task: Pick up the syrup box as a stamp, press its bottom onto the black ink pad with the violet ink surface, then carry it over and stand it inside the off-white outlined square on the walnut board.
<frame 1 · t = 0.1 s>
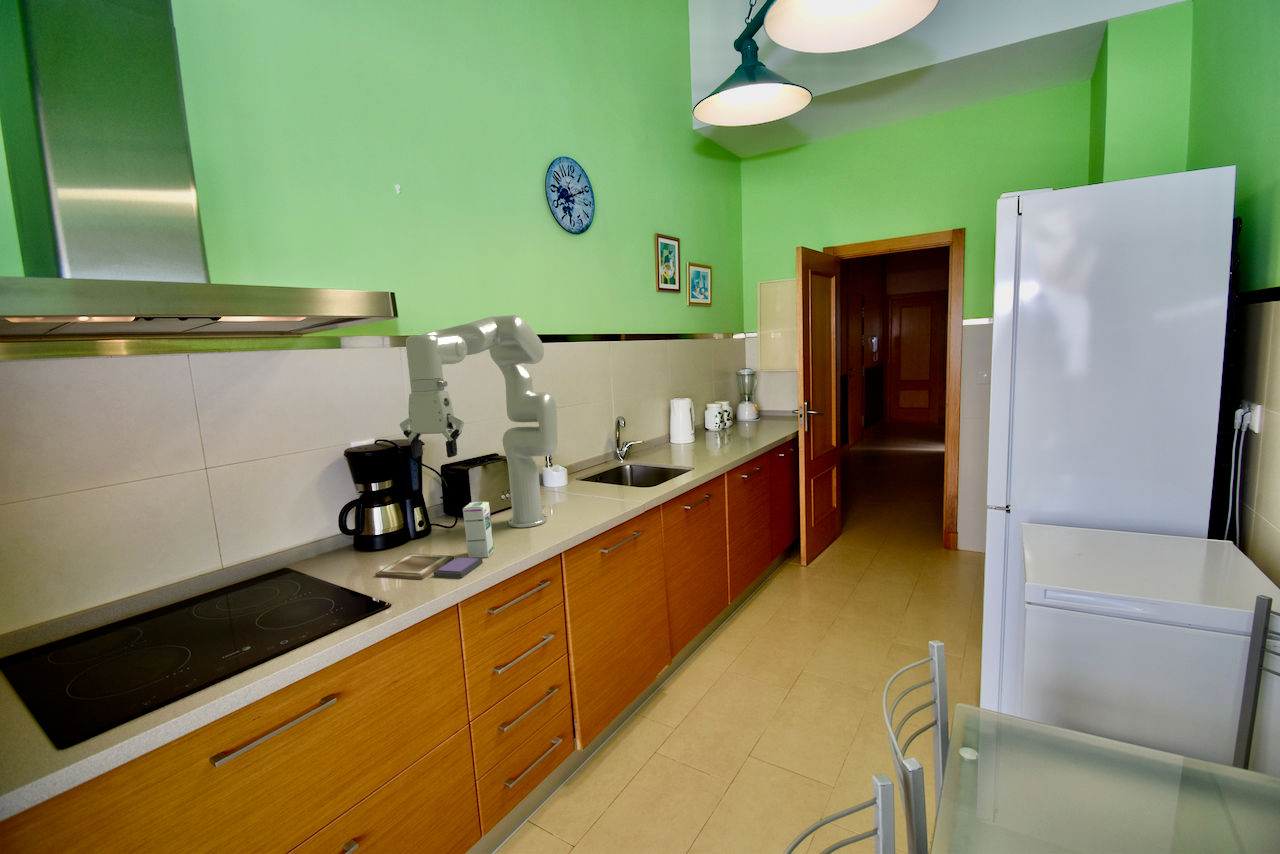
hand: (434, 456, 137), 31 cm above the countertop, fingers open, 9 cm apart
board: (416, 567, 149), on the countertop
ink pad: (458, 569, 146), on the countertop
syrup box: (481, 555, 156), on the countertop
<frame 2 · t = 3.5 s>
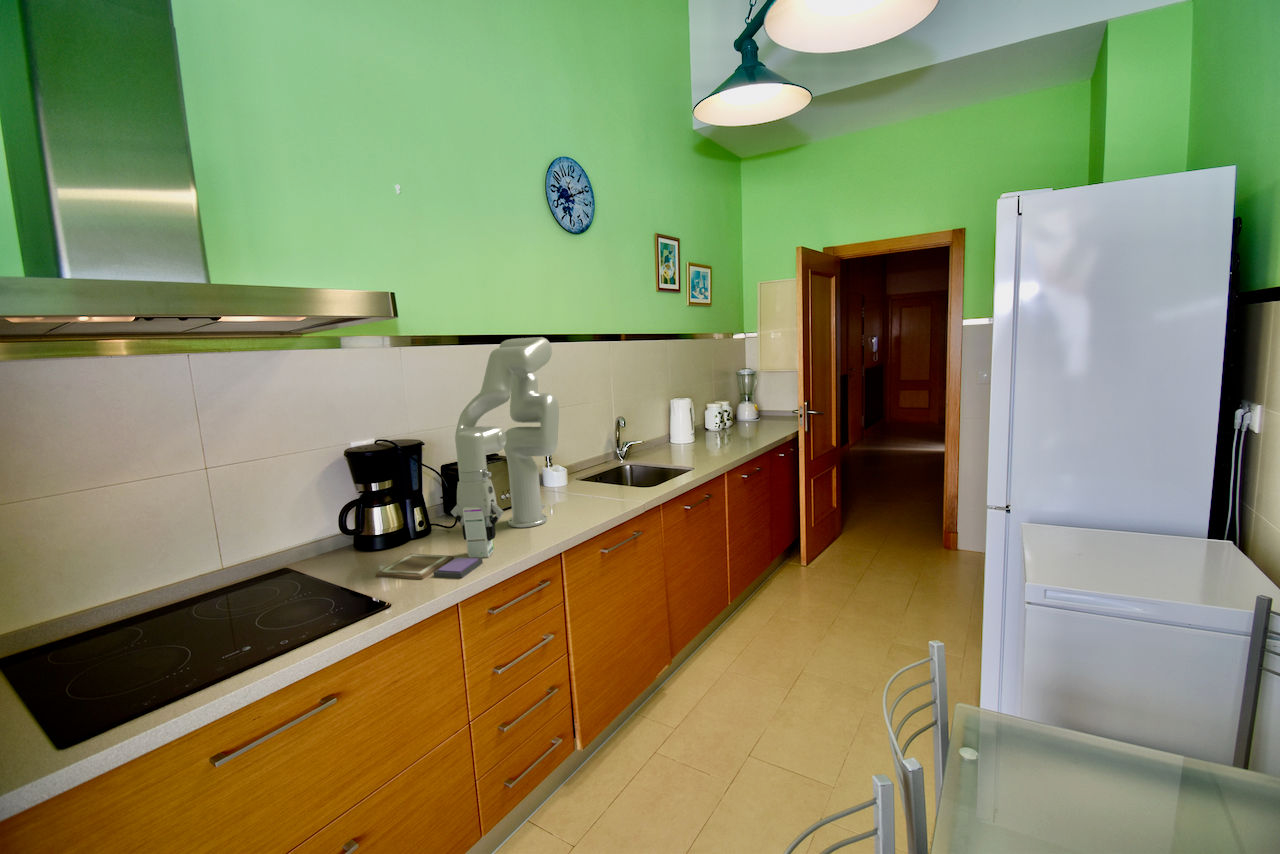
hand: (479, 538, 155), 5 cm above the countertop, fingers closed on syrup box, 6 cm apart
syrup box: (481, 555, 156), on the countertop, touching gripper
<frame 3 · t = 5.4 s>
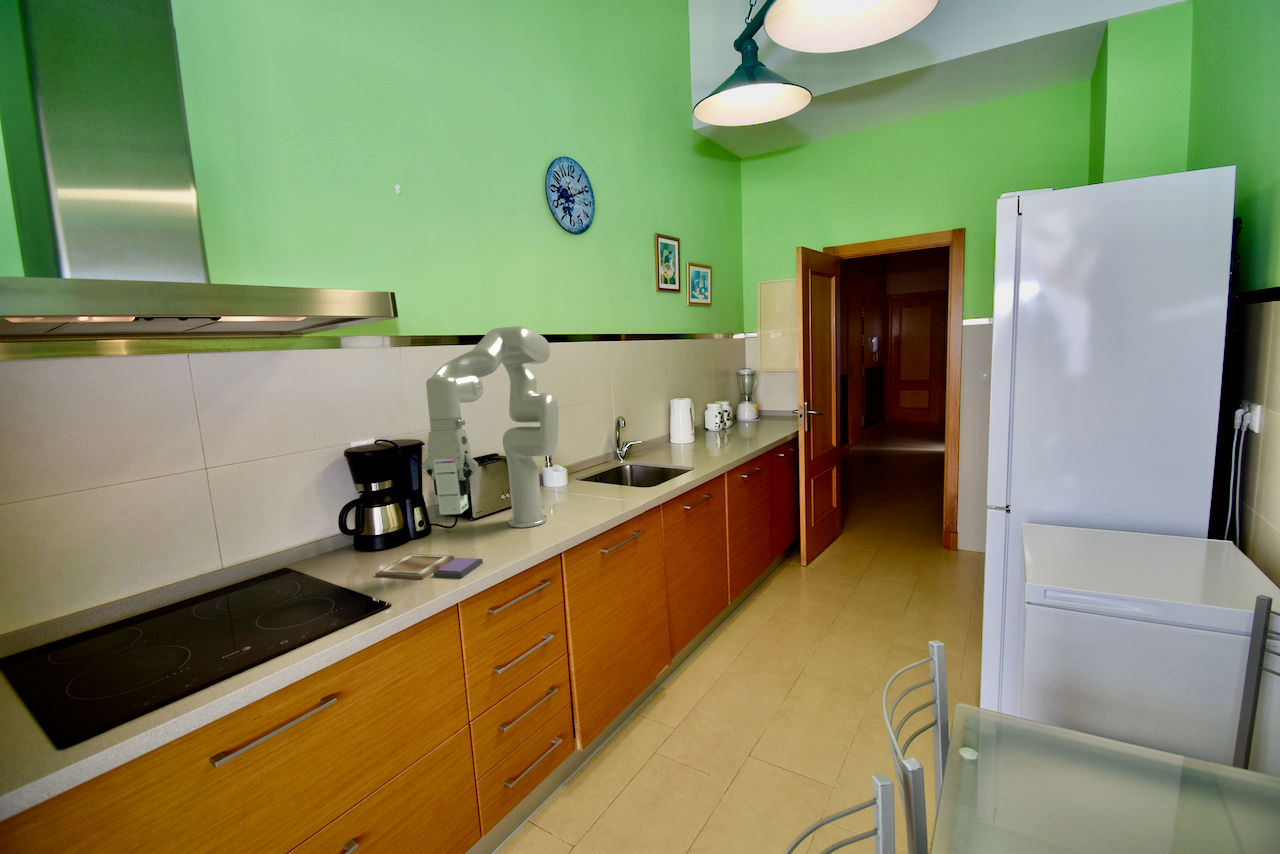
hand: (452, 493, 144), 20 cm above the countertop, fingers closed on syrup box, 6 cm apart
syrup box: (454, 512, 144), point 15 cm above the countertop, touching gripper
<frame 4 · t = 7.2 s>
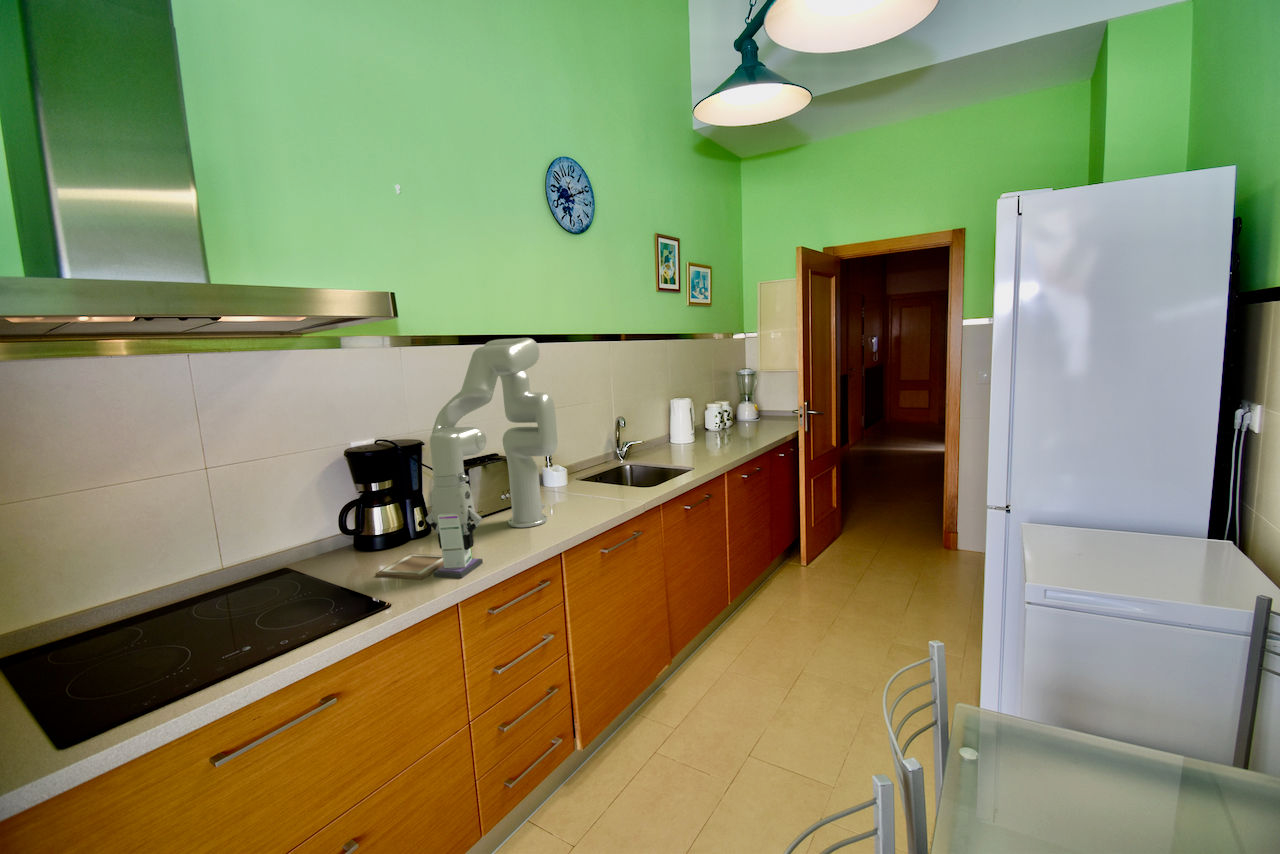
hand: (456, 546, 145), 6 cm above the countertop, fingers closed on syrup box, 6 cm apart
syrup box: (458, 564, 146), point 1 cm above the countertop, touching gripper, ink pad
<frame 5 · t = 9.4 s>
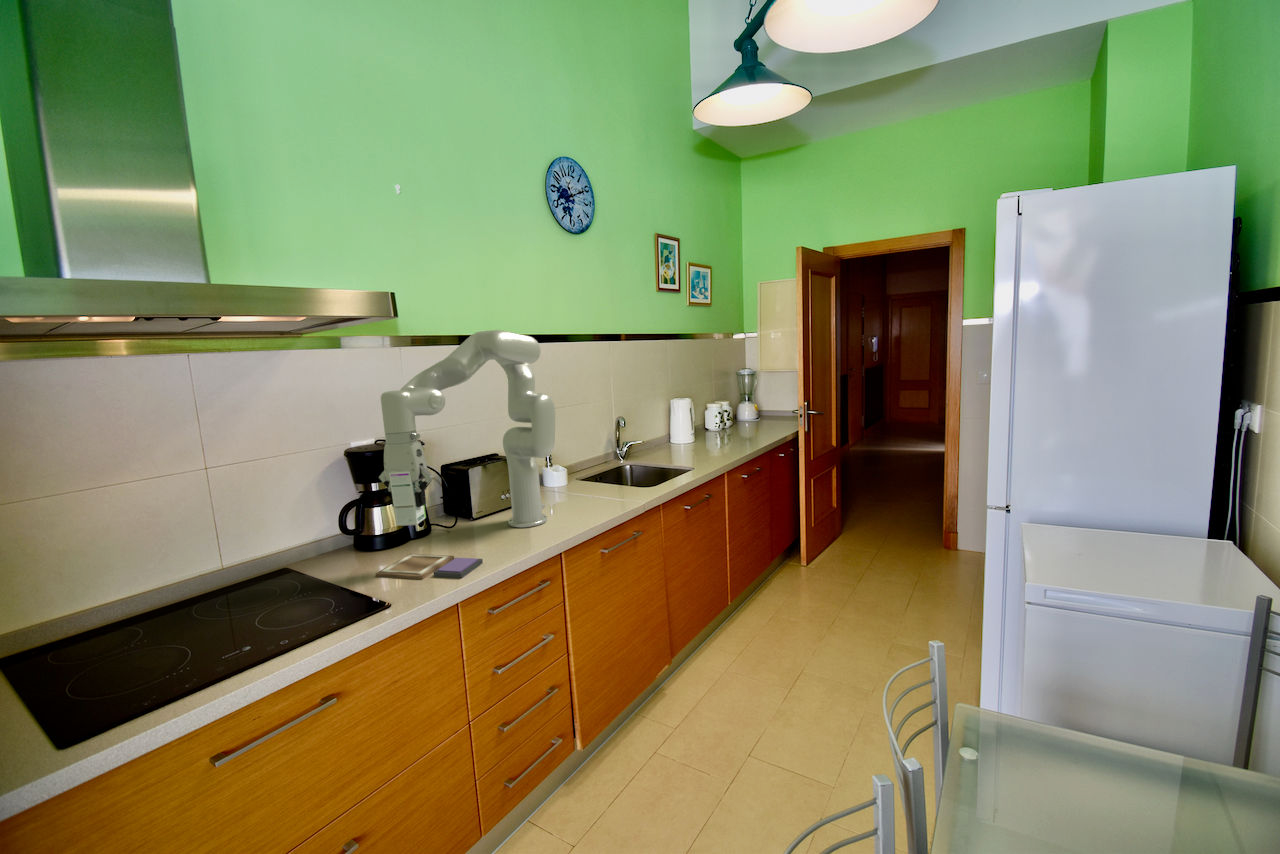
hand: (409, 504, 147), 17 cm above the countertop, fingers closed on syrup box, 6 cm apart
syrup box: (411, 522, 147), point 12 cm above the countertop, touching gripper
when the fingers open (6 cm above the countertop, at t = 11.4 s): syrup box stays where it is, resting on board.
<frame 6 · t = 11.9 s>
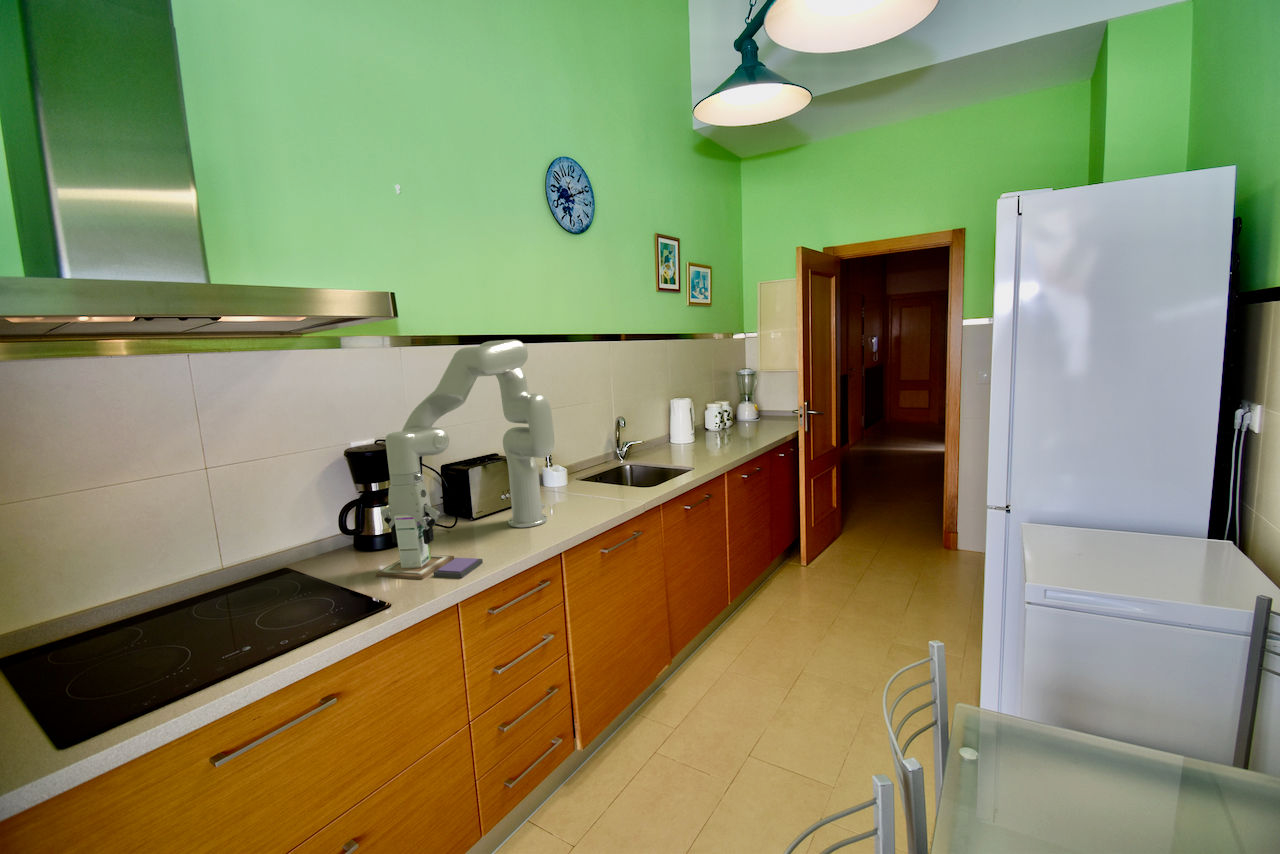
hand: (413, 541, 148), 7 cm above the countertop, fingers open, 9 cm apart
syrup box: (416, 564, 149), point 1 cm above the countertop, touching board
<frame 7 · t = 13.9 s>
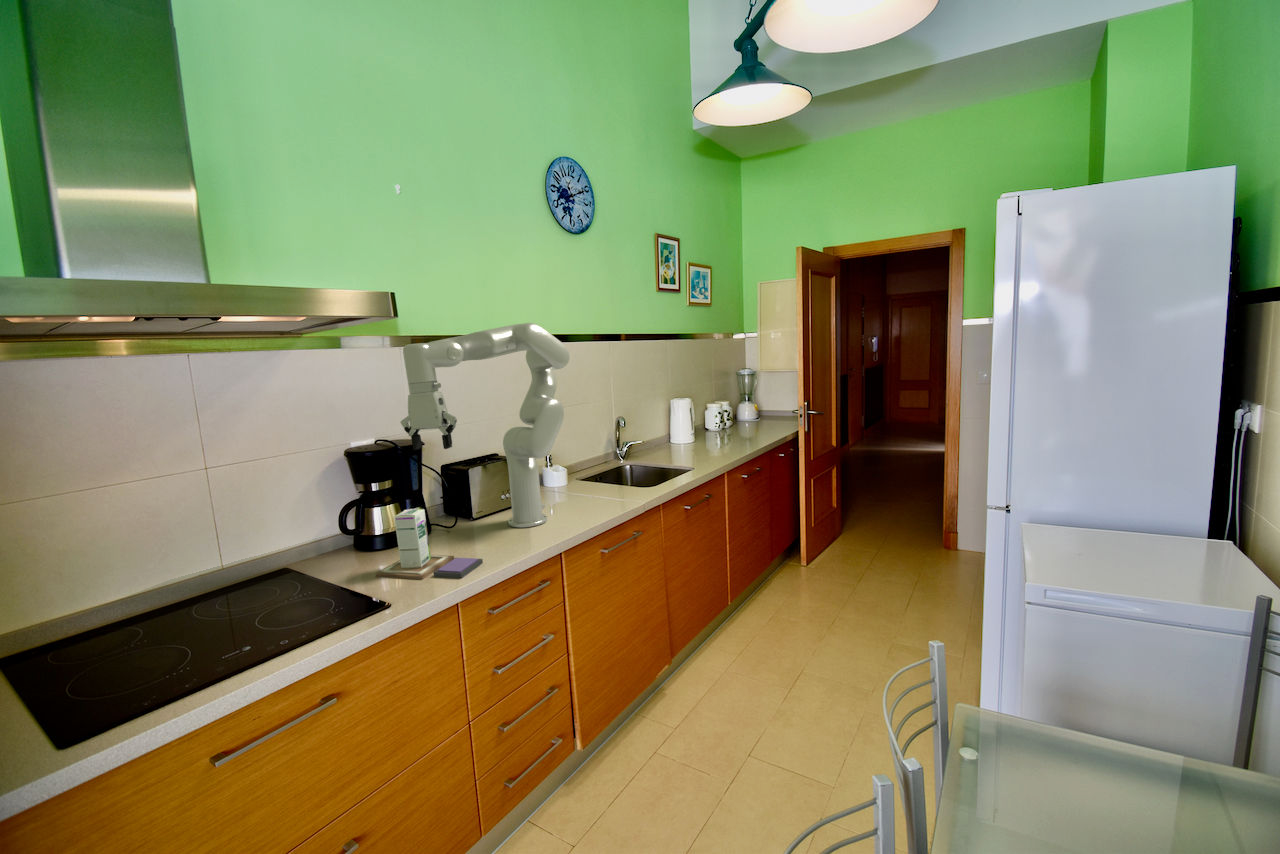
hand: (432, 448, 157), 30 cm above the countertop, fingers open, 9 cm apart
nothing on the countertop moved.
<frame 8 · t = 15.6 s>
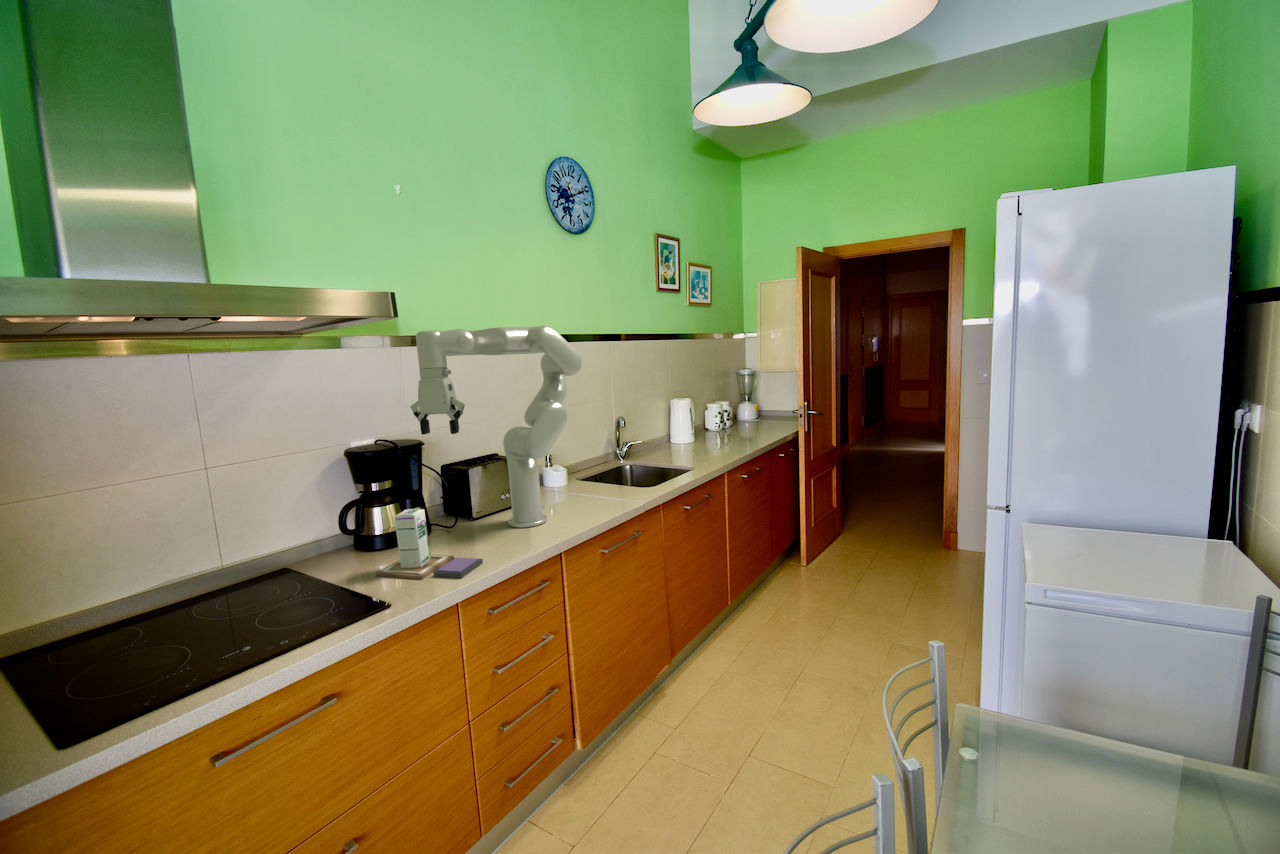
hand: (440, 433, 162), 33 cm above the countertop, fingers open, 9 cm apart
nothing on the countertop moved.
at the end: syrup box inside the target area on the board (0.2 cm from its centre), point 0.6 cm above the board's base; syrup box tilted 0°; the gripper is holding nothing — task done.
